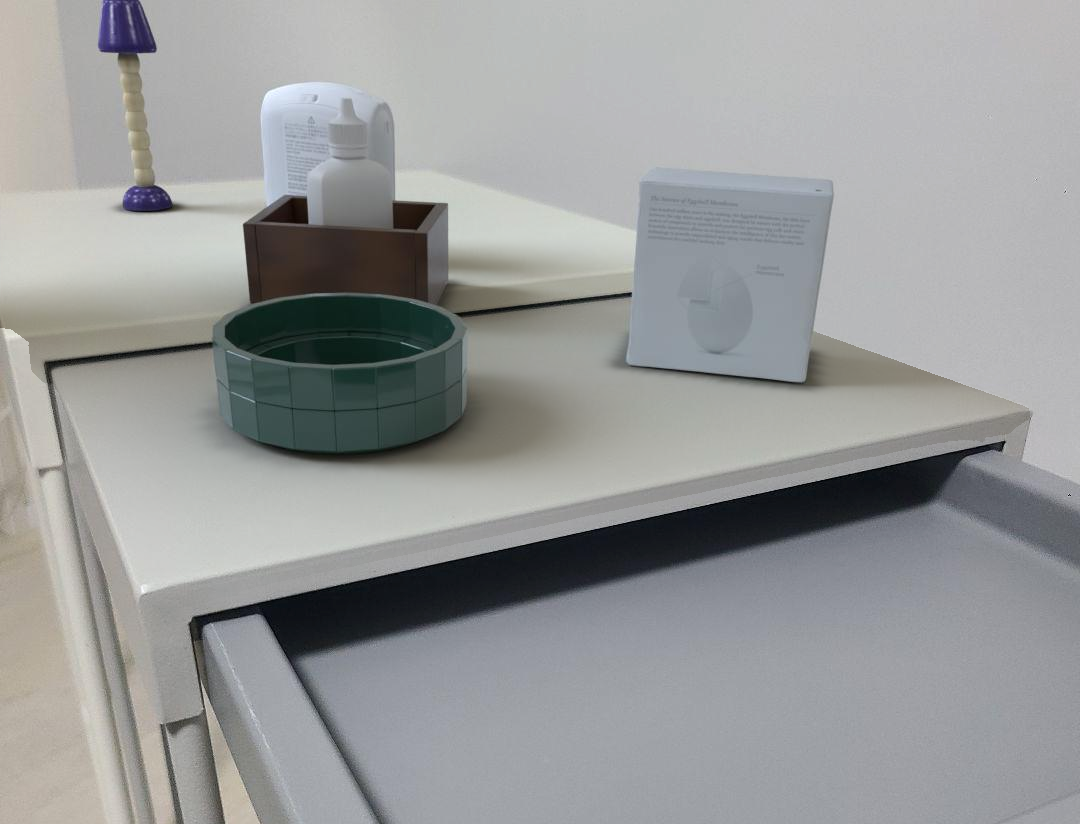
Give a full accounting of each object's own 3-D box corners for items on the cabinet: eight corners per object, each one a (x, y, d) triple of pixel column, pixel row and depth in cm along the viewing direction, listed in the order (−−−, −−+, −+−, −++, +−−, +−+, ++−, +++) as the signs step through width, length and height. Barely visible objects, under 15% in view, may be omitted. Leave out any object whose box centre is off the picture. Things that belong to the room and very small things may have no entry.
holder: (250, 311, 69) (242, 223, 67) (289, 274, 78) (283, 194, 75) (428, 321, 69) (427, 233, 66) (448, 282, 77) (448, 202, 75)
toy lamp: (112, 204, 96) (81, -4, 88) (161, 199, 99) (136, -3, 91) (135, 213, 93) (106, -1, 85) (185, 208, 96) (161, 0, 88)
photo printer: (405, 257, 83) (402, 85, 77) (379, 269, 80) (373, 90, 74) (291, 241, 86) (279, 75, 80) (261, 252, 83) (246, 79, 77)
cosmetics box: (806, 351, 66) (835, 175, 61) (805, 385, 61) (836, 195, 56) (639, 333, 68) (654, 161, 63) (623, 365, 63) (638, 179, 58)
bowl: (186, 453, 49) (173, 360, 47) (262, 366, 60) (254, 287, 58) (448, 468, 49) (447, 375, 47) (477, 378, 60) (478, 299, 58)
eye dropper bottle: (310, 280, 74) (299, 93, 68) (392, 278, 75) (387, 95, 70) (313, 297, 70) (301, 102, 65) (399, 295, 72) (394, 103, 66)
